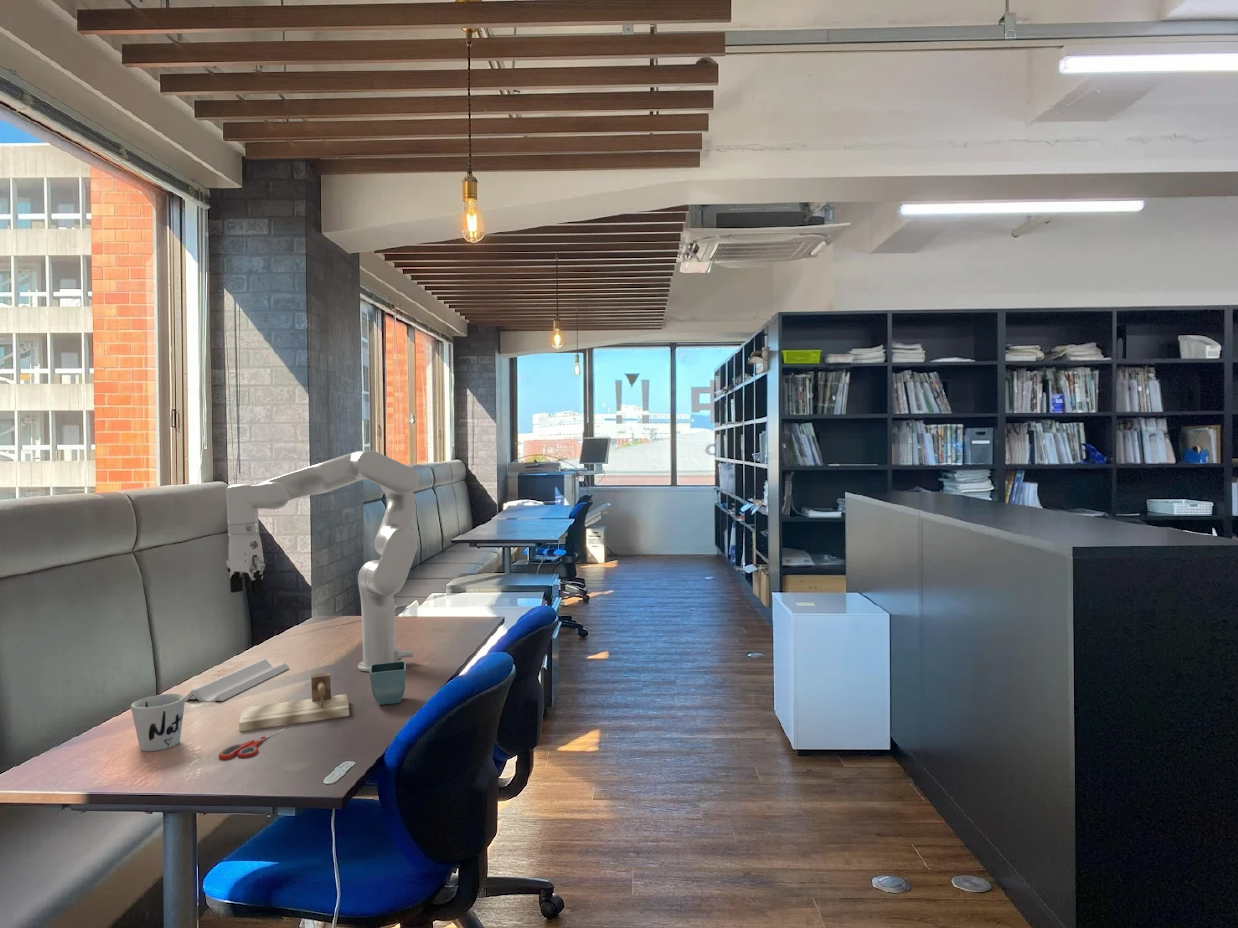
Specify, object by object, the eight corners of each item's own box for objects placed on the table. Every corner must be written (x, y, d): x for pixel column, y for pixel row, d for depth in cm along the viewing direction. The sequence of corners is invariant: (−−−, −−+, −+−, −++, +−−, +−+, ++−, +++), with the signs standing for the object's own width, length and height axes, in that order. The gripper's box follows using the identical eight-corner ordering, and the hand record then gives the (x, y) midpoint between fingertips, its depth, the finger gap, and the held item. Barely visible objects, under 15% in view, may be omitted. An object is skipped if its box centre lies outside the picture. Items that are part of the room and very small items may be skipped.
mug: (148, 757, 168) (146, 710, 168) (112, 745, 176) (110, 700, 176) (196, 741, 177) (194, 697, 177) (160, 731, 185) (158, 688, 185)
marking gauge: (330, 700, 203) (329, 670, 203) (332, 714, 191) (331, 683, 191) (312, 702, 201) (311, 673, 201) (312, 717, 189) (311, 686, 189)
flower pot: (370, 709, 196) (369, 672, 196) (371, 698, 205) (370, 664, 205) (407, 704, 199) (406, 669, 198) (407, 694, 207) (405, 660, 207)
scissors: (294, 726, 186) (294, 720, 186) (250, 761, 165) (249, 754, 165) (262, 727, 186) (262, 721, 186) (214, 762, 165) (213, 755, 165)
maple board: (346, 701, 203) (346, 693, 203) (349, 715, 191) (348, 707, 191) (242, 715, 194) (242, 707, 194) (239, 731, 183) (238, 722, 183)
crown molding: (222, 704, 206) (221, 690, 206) (180, 704, 208) (179, 690, 208) (289, 670, 237) (288, 658, 237) (252, 670, 239) (252, 658, 239)
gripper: (274, 529, 212) (277, 593, 212) (239, 527, 222) (242, 588, 222) (247, 532, 206) (250, 598, 206) (213, 530, 216) (216, 593, 216)
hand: (246, 593), depth 214 cm, fingers open, 9 cm apart
